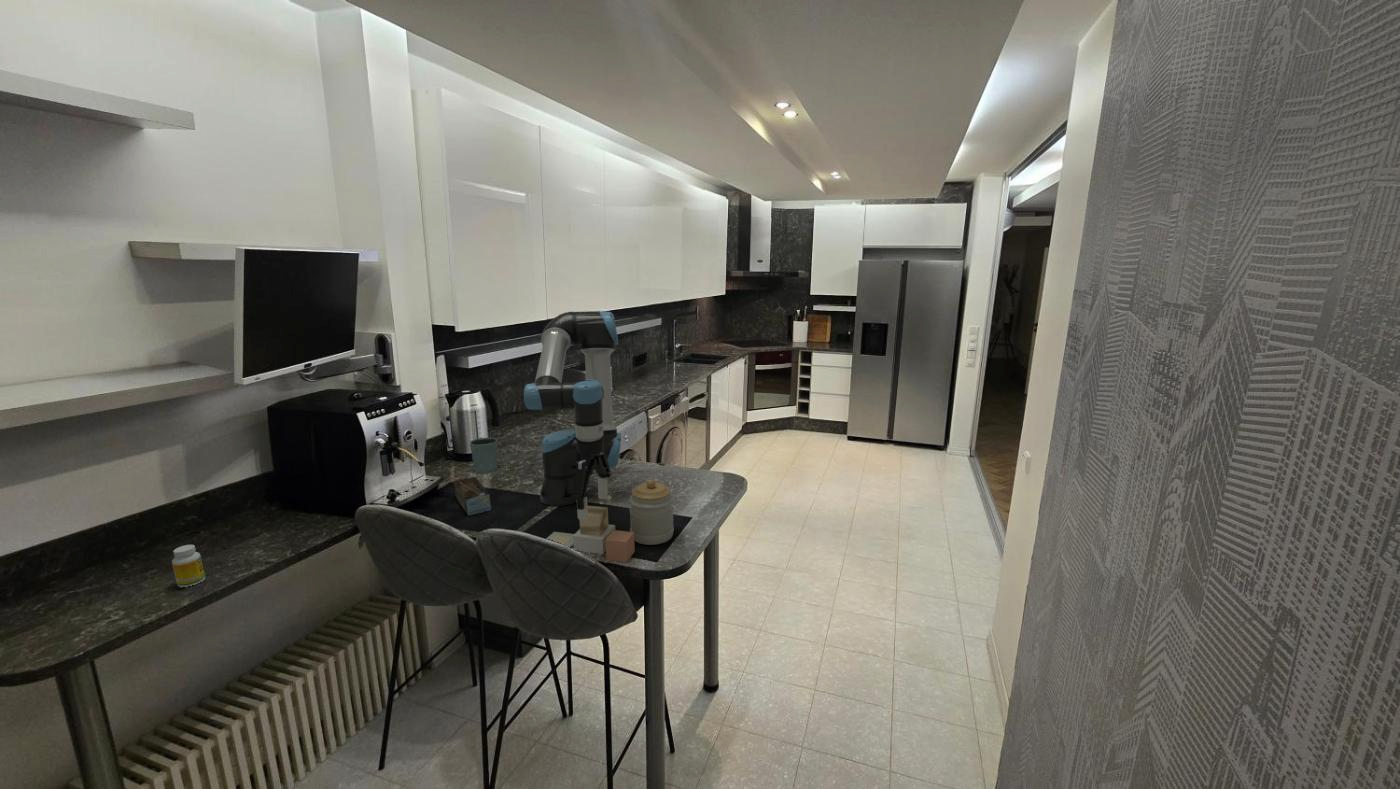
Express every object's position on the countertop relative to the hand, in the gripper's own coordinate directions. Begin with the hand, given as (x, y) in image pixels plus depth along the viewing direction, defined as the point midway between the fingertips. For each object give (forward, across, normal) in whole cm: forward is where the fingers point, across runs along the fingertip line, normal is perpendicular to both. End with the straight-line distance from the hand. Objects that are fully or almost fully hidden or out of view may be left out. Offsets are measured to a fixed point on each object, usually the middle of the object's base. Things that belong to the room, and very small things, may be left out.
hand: (593, 508), depth 158 cm
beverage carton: (+12, +16, +53) cm, 57 cm away
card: (+11, -2, +10) cm, 15 cm away
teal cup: (+13, +46, +68) cm, 84 cm away
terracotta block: (+11, -5, -10) cm, 15 cm away
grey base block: (+11, -1, 0) cm, 11 cm away
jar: (+11, +9, -14) cm, 20 cm away
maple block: (+7, 0, 0) cm, 7 cm away
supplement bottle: (+11, -43, +92) cm, 102 cm away
